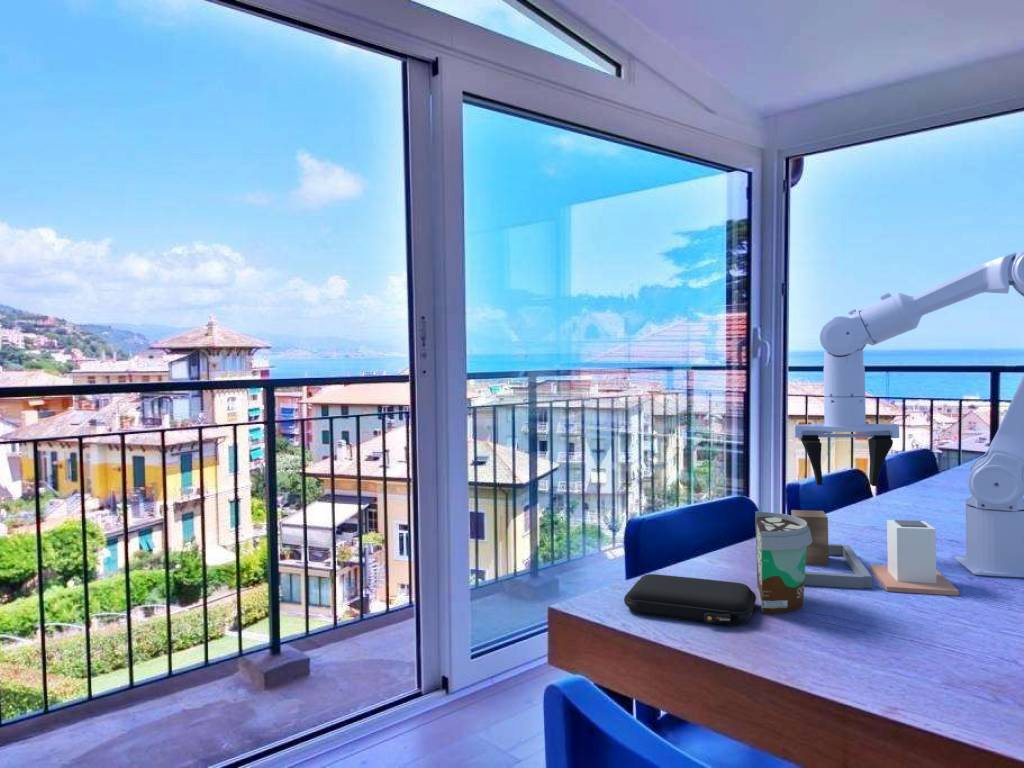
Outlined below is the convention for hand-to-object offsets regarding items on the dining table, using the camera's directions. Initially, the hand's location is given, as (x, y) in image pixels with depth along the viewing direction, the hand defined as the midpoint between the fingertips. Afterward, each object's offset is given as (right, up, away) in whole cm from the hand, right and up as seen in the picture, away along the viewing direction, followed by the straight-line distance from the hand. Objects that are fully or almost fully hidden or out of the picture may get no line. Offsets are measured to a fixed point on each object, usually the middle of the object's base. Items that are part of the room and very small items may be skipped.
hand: (845, 484), depth 105 cm
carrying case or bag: (-30, -12, -23) cm, 40 cm away
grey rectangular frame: (-8, -11, -8) cm, 16 cm away
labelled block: (+1, -10, -15) cm, 18 cm away
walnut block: (-7, -11, -4) cm, 14 cm away
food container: (-18, -12, -21) cm, 30 cm away
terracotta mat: (+1, -11, -15) cm, 18 cm away
